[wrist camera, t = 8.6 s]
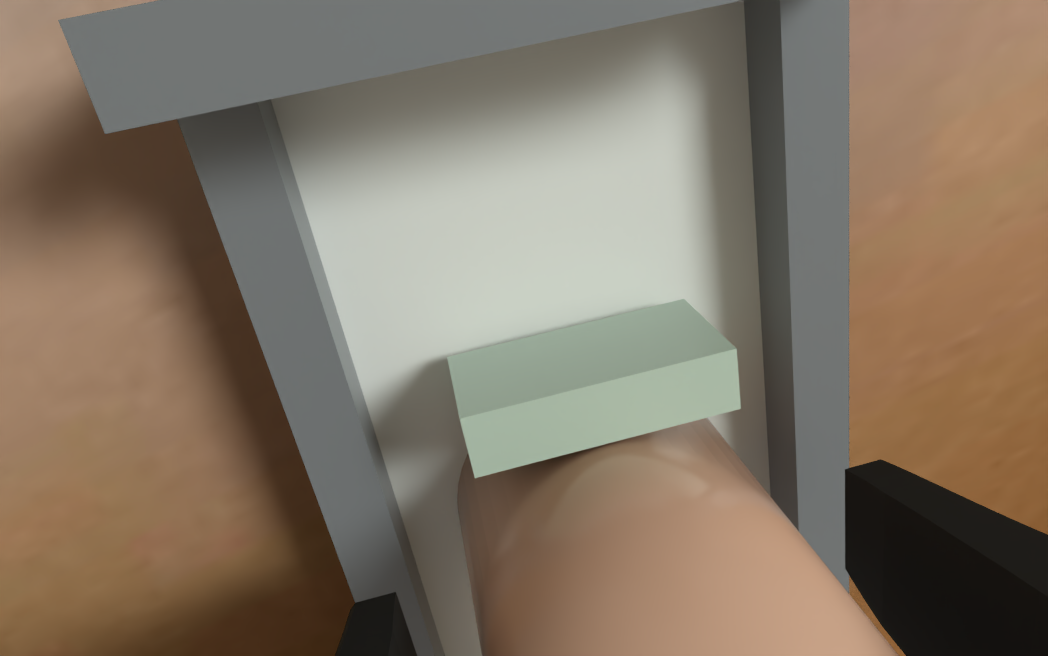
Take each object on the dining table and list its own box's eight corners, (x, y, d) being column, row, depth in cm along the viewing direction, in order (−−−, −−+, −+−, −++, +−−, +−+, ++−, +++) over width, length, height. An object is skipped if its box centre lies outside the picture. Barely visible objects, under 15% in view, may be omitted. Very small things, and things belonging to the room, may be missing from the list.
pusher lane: (474, 879, 19) (498, 1091, 15) (171, 15, 10) (58, 19, 7) (815, 774, 19) (916, 950, 16) (790, -107, 11) (993, -163, 7)
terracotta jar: (493, 623, 15) (606, 1207, 8) (424, 414, 13) (490, 947, 6) (730, 549, 15) (1050, 1040, 8) (701, 333, 13) (1098, 735, 6)
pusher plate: (460, 410, 12) (475, 477, 11) (447, 356, 12) (460, 419, 10) (689, 352, 13) (741, 408, 11) (684, 298, 12) (736, 348, 11)
